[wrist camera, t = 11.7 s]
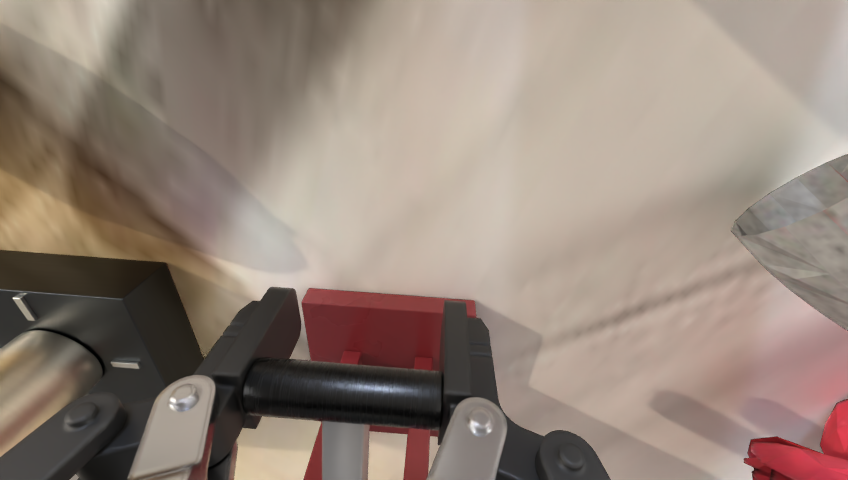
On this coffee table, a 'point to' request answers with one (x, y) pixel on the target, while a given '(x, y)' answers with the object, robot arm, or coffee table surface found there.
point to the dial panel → (103, 316)
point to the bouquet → (805, 296)
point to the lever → (344, 404)
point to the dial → (40, 381)
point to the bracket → (377, 349)
